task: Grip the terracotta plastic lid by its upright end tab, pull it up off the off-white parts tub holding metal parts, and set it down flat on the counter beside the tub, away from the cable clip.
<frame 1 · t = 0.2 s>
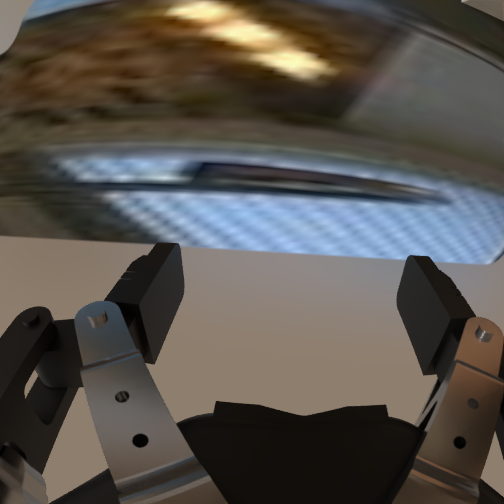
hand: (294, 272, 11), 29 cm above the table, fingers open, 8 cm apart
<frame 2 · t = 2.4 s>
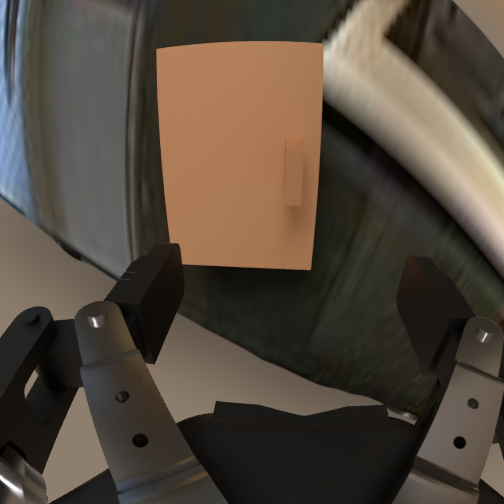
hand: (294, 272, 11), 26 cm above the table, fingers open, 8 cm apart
snap lid: (241, 156, 28), point 7 cm above the table, touching parts tub
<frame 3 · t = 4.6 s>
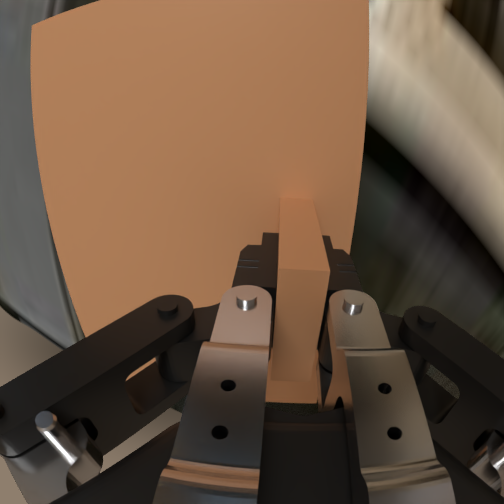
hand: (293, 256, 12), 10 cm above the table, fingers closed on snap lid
snap lid: (193, 221, 15), point 7 cm above the table, touching gripper
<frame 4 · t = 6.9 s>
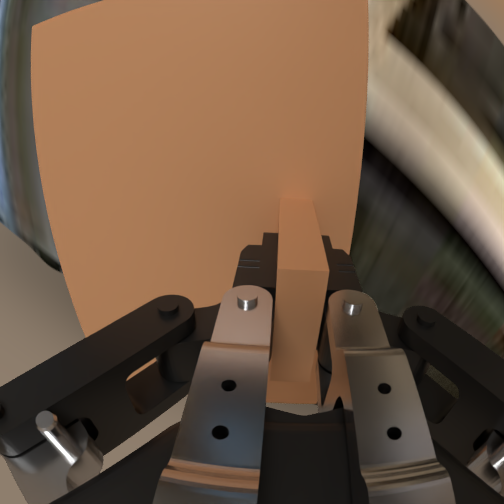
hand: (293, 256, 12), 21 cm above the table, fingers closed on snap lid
snap lid: (193, 222, 15), point 19 cm above the table, touching gripper
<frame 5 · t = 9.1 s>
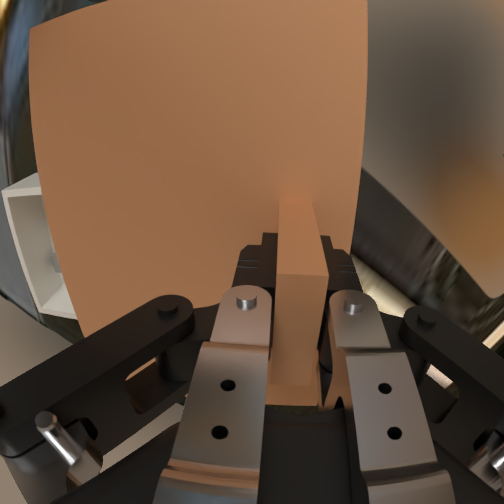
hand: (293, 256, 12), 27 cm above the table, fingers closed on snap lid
snap lid: (192, 225, 15), point 24 cm above the table, touching gripper
steel block: (66, 258, 45), point 1 cm above the table, touching parts tub
parts tub: (78, 233, 44), on the table
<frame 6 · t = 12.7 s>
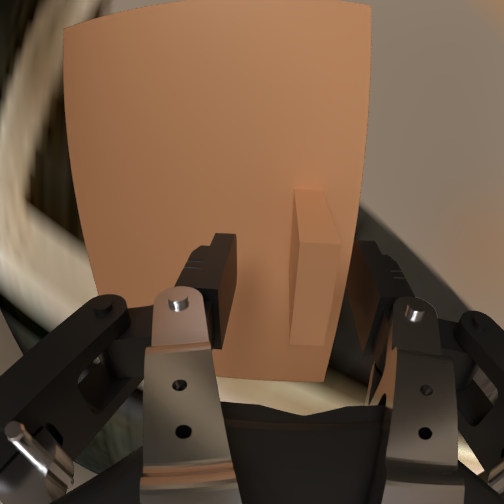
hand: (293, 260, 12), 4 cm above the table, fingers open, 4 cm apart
snap lid: (213, 211, 16), on the table
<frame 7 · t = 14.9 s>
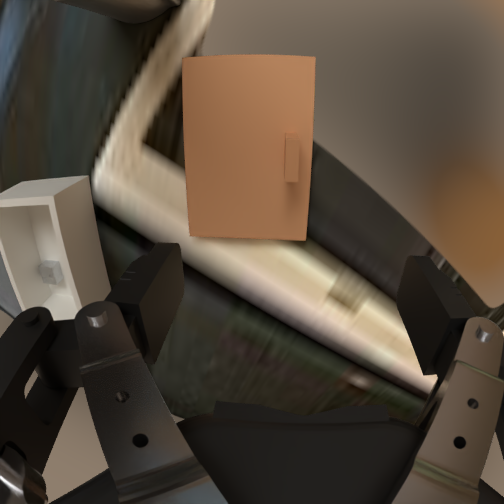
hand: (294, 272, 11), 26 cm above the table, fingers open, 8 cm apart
snap lid: (248, 146, 35), on the table
steel block: (54, 268, 43), point 1 cm above the table, touching parts tub
parts tub: (65, 243, 42), on the table
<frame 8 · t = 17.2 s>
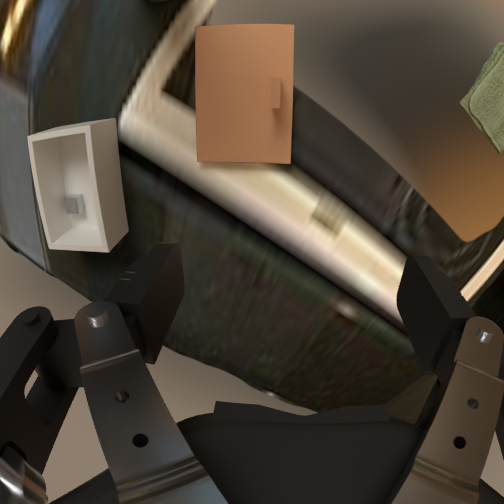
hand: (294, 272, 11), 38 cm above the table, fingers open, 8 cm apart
washcloth: (500, 96, 37), on the table
snap lid: (245, 92, 42), on the table
steel block: (77, 201, 51), point 1 cm above the table, touching parts tub
parts tub: (89, 178, 50), on the table
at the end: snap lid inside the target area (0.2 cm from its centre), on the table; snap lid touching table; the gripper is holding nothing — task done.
